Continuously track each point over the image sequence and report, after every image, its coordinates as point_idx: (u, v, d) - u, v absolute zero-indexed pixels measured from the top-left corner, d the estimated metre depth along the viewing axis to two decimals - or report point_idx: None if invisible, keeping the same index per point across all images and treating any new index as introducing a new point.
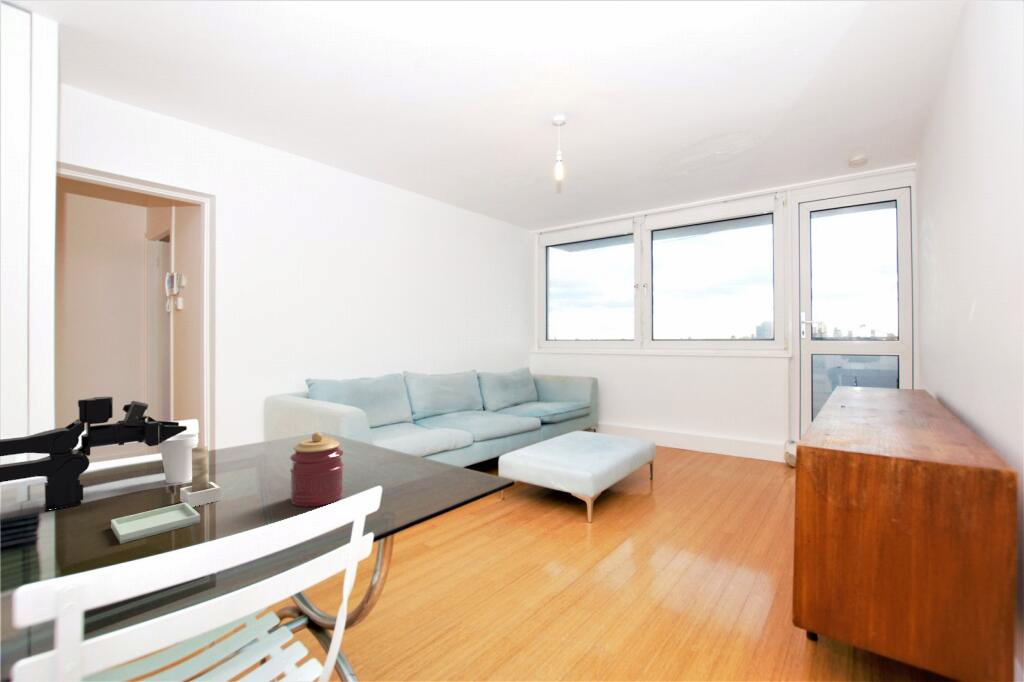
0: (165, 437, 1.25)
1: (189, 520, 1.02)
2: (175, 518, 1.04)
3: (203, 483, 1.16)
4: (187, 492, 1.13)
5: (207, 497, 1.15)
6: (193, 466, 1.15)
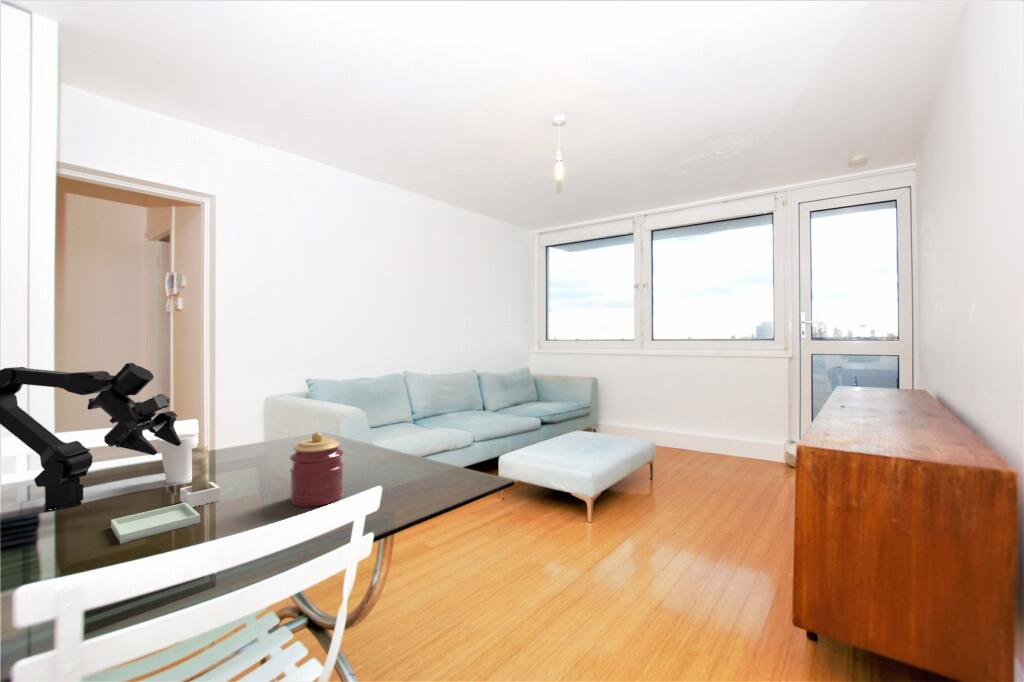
0: (129, 446, 1.09)
1: (189, 520, 1.02)
2: (175, 518, 1.04)
3: (203, 483, 1.16)
4: (187, 492, 1.13)
5: (207, 497, 1.15)
6: (193, 466, 1.15)
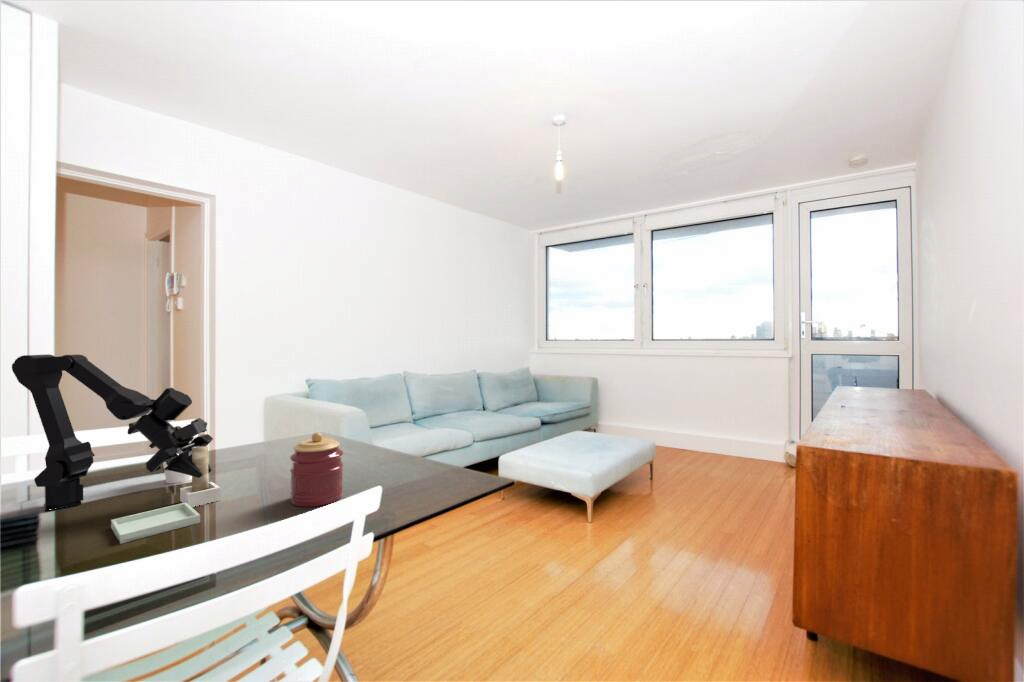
0: (176, 469, 1.13)
1: (189, 520, 1.02)
2: (175, 518, 1.04)
3: (203, 483, 1.16)
4: (187, 492, 1.13)
5: (207, 497, 1.15)
6: None
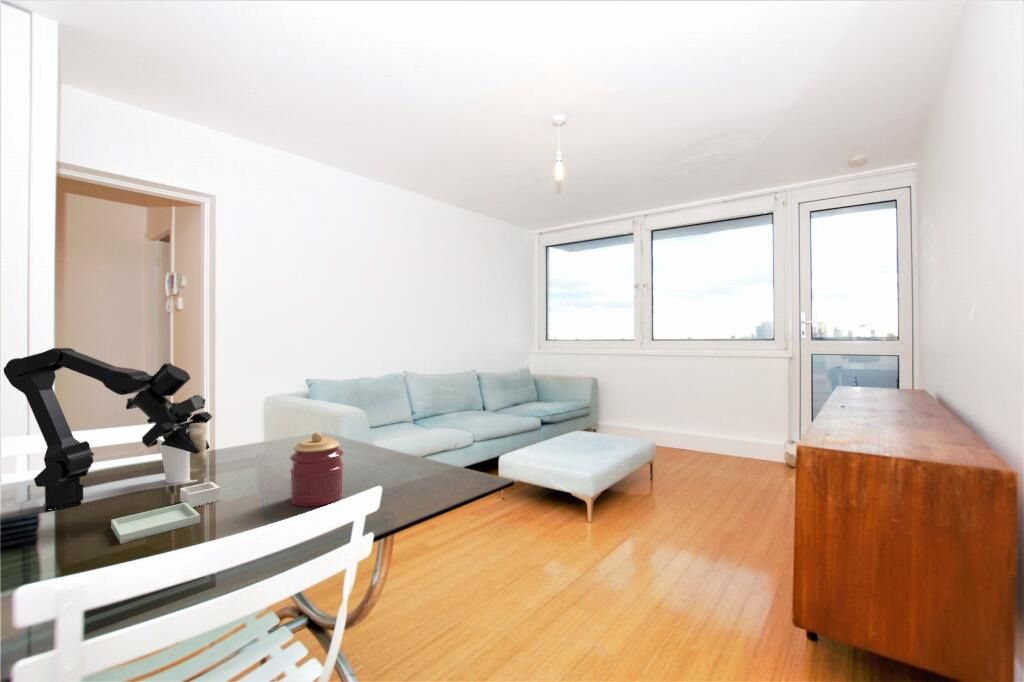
0: (173, 444, 1.12)
1: (189, 520, 1.02)
2: (175, 518, 1.04)
3: (201, 460, 1.15)
4: (187, 492, 1.13)
5: (207, 497, 1.15)
6: None
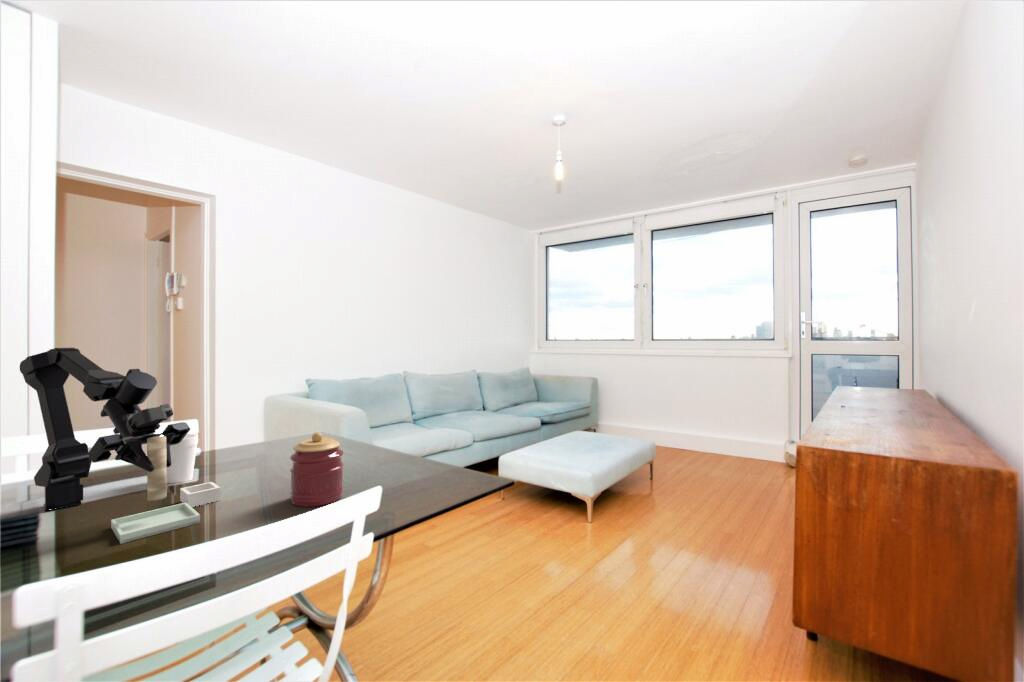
0: (128, 459, 1.01)
1: (189, 520, 1.02)
2: (175, 518, 1.04)
3: (156, 479, 1.02)
4: (187, 492, 1.13)
5: (207, 497, 1.15)
6: None
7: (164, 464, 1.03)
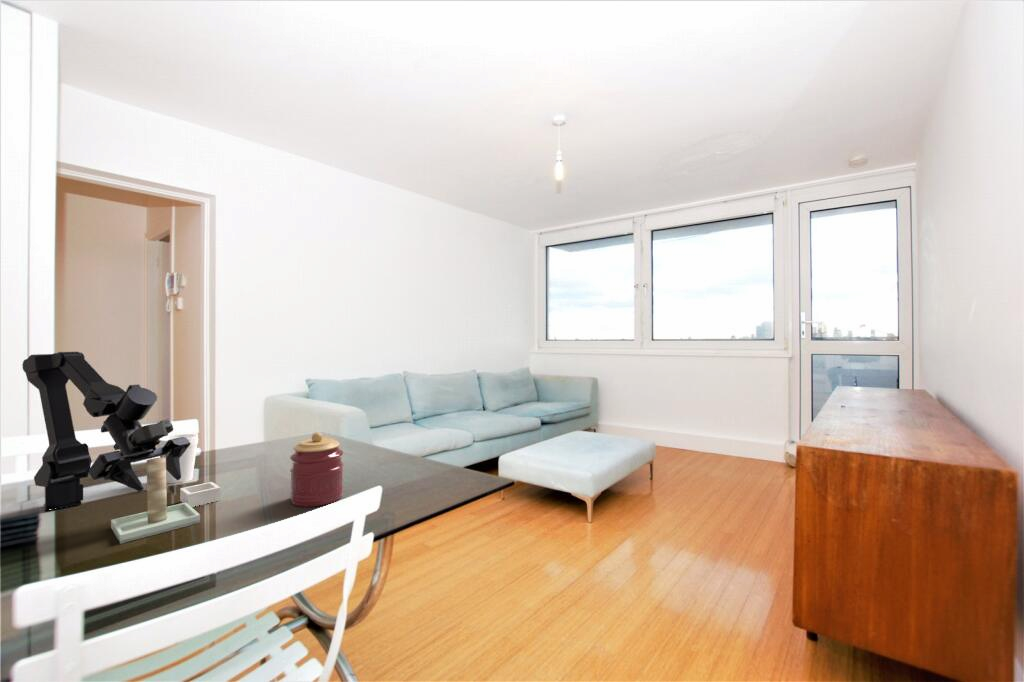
0: (117, 478, 0.99)
1: (189, 520, 1.02)
2: (175, 518, 1.04)
3: (156, 500, 1.02)
4: (187, 492, 1.13)
5: (207, 497, 1.15)
6: (147, 480, 1.02)
7: (164, 485, 1.03)
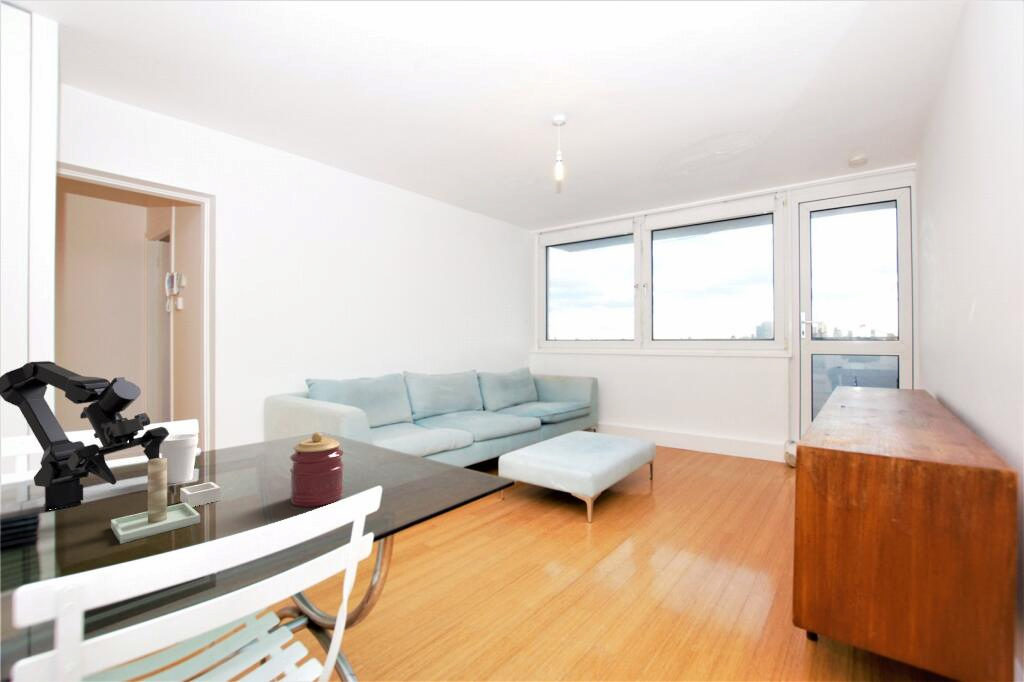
0: (92, 470, 1.03)
1: (189, 520, 1.02)
2: (175, 518, 1.04)
3: (157, 501, 1.02)
4: (187, 492, 1.13)
5: (207, 497, 1.15)
6: (148, 480, 1.02)
7: (164, 486, 1.03)
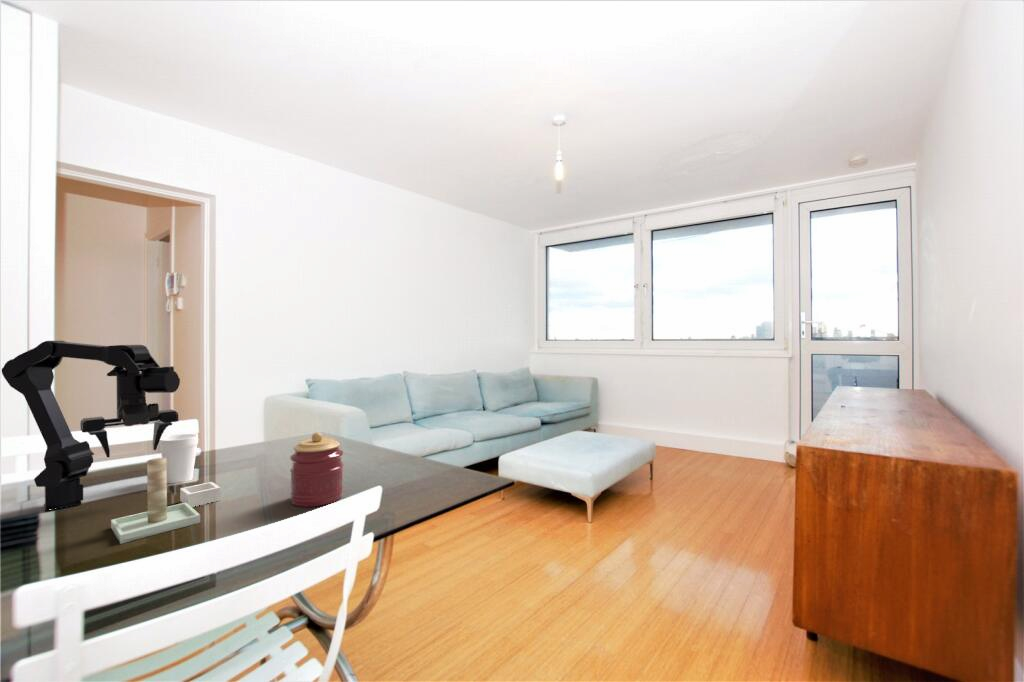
0: None
1: (189, 520, 1.02)
2: (175, 518, 1.04)
3: (157, 501, 1.02)
4: (187, 492, 1.13)
5: (207, 497, 1.15)
6: (147, 480, 1.02)
7: (164, 486, 1.03)
